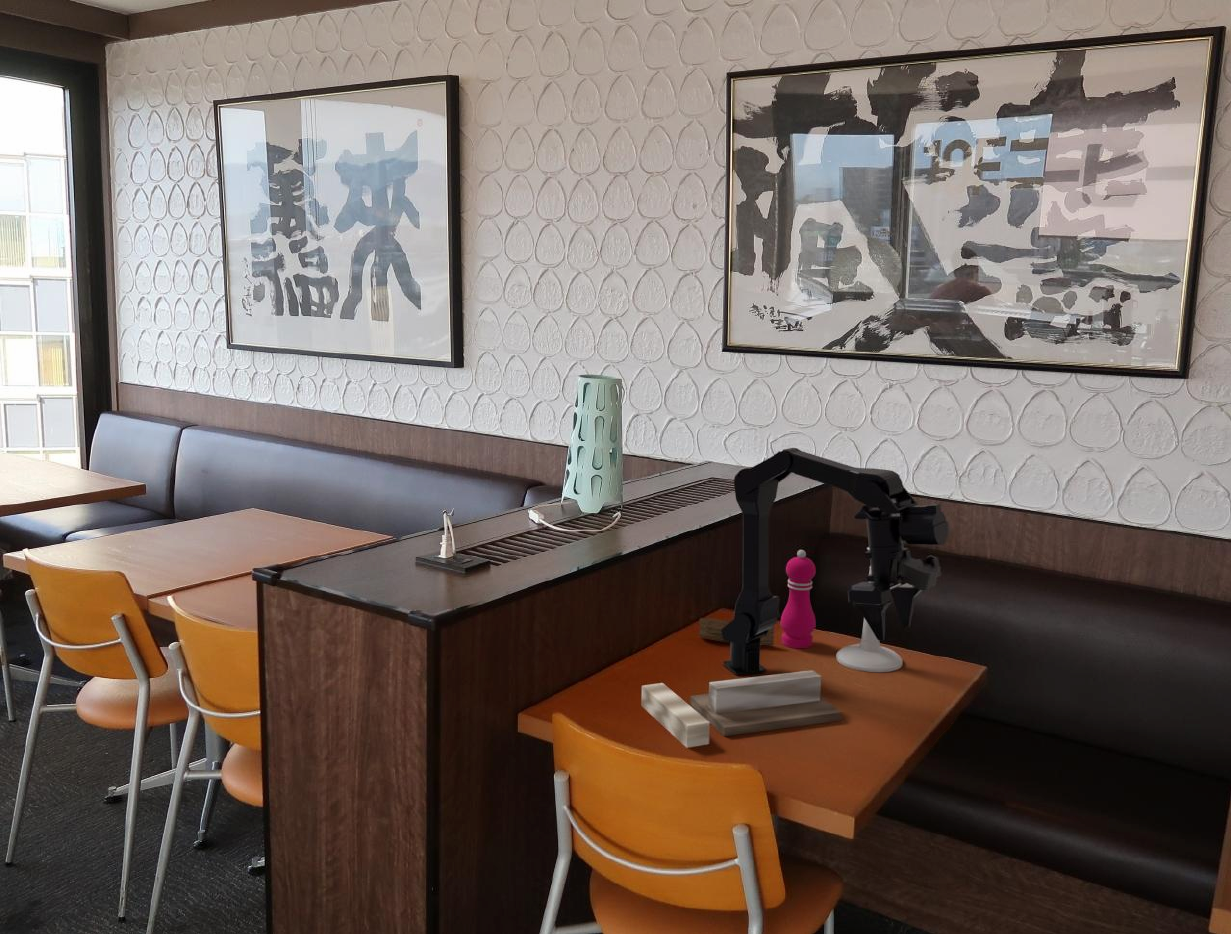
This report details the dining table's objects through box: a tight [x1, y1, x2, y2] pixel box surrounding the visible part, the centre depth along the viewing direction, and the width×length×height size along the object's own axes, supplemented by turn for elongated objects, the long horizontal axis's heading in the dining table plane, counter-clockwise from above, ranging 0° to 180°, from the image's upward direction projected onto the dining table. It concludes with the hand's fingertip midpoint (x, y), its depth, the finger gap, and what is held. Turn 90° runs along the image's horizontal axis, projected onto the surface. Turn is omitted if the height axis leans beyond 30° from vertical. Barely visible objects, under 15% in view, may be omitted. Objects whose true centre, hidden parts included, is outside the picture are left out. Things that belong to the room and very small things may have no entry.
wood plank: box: [699, 617, 775, 646], centre depth 216 cm, size 15×2×5 cm, turn 79°
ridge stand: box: [689, 669, 842, 737], centre depth 180 cm, size 14×22×6 cm, turn 109°
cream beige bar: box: [640, 682, 711, 749], centre depth 175 cm, size 18×4×4 cm, turn 22°
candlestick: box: [835, 546, 904, 673], centre depth 205 cm, size 13×13×30 cm
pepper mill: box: [779, 549, 817, 649], centre depth 215 cm, size 7×7×20 cm
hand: (893, 633), depth 180 cm, fingers open, 9 cm apart
